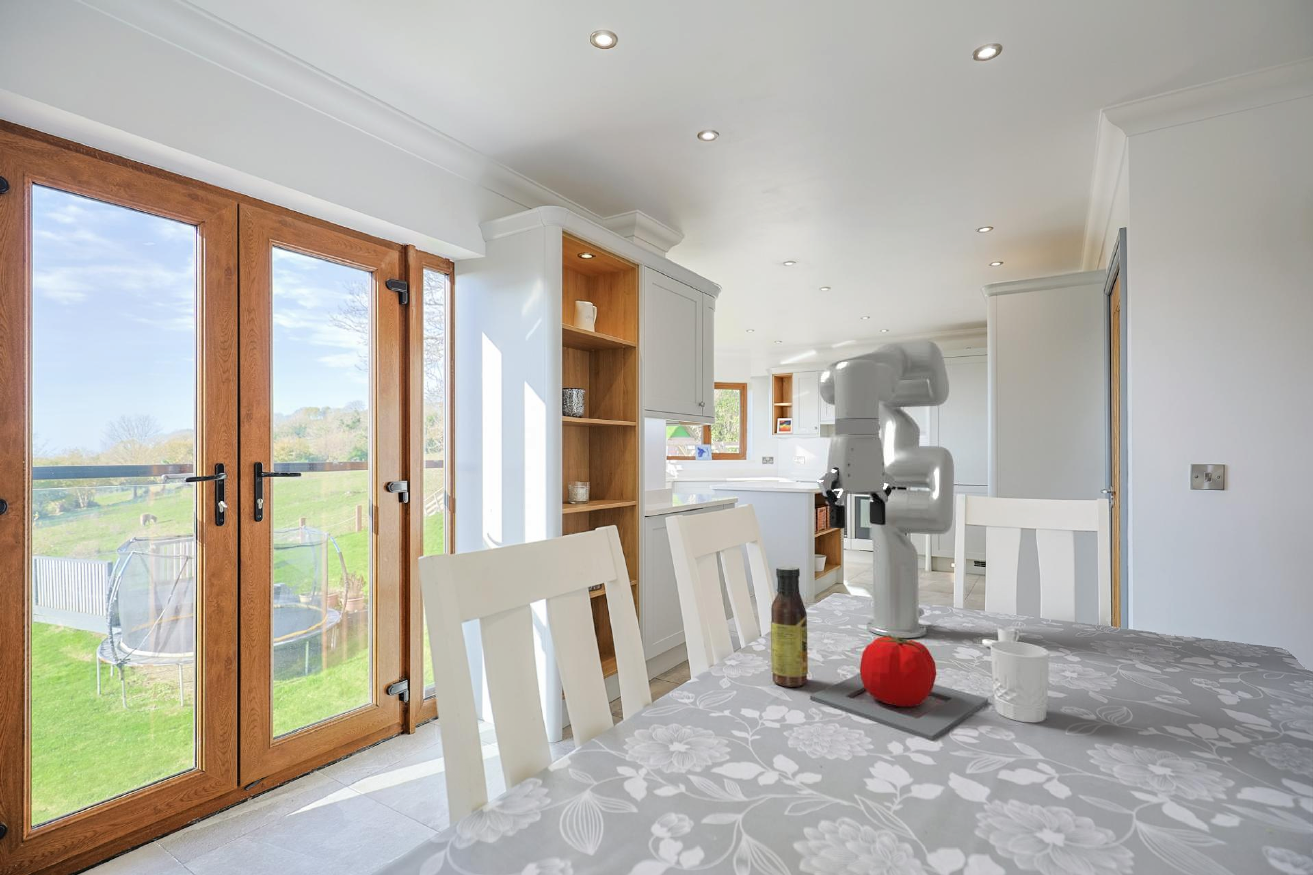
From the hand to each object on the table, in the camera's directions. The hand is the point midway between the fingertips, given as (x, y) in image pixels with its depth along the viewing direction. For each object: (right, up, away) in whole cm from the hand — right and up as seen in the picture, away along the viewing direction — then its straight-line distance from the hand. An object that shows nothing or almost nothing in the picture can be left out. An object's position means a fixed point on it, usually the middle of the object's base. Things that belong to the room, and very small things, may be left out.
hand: (857, 526), depth 113 cm
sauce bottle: (-13, -27, -2) cm, 30 cm away
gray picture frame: (+3, -27, -10) cm, 29 cm away
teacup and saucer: (+34, -28, +21) cm, 49 cm away
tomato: (+3, -27, -10) cm, 29 cm away
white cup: (+20, -27, -16) cm, 37 cm away
